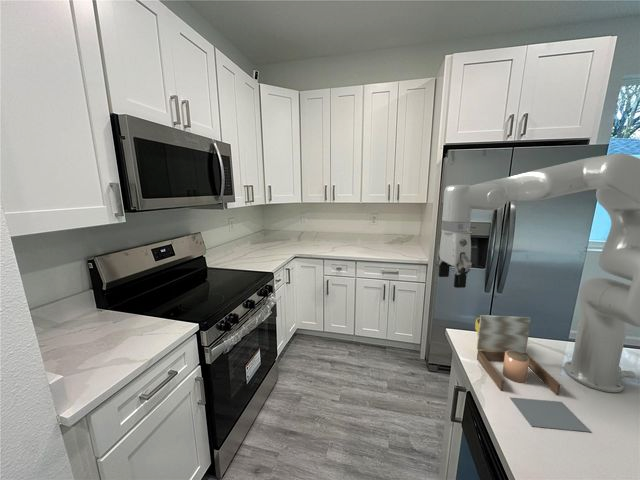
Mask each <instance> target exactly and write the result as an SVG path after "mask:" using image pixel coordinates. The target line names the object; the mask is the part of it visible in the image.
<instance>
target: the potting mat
mask: <svg viewBox="0 0 640 480" xmlns="http://www.w3.org/2000/svg"><path fill="white" fill-rule="evenodd" d="M509 399H510V400H511V401H512V403H513V404H514V405H515V408H517V410H518V411H519V413H521V414H522V416H523V417H524V419H525V420H526V421H527V423H528V424H529V425H530V426H531V427H533V428H542V429H553V430H561V431H571V432H572V431H573V432H574V431H575V432H583V433H584V432H585V433H592V431H591V430H590V429H589V427H588V426H587V425H585V424H584V423H583V422H582V421H581V419H579V418H578V417H577V415H576V414H574V412H572V411H571V409H570V408H569V407H568V406H566V405H565V404H564V402H563V401H558V400H557V401H556V400H545V399H533V398H524V397H523V398H521V397H520V398H519V397H511V396H510V397H509Z"/></svg>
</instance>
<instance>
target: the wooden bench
mask: <svg viewBox="0 0 640 480" xmlns="http://www.w3.org/2000/svg"><path fill="white" fill-rule="evenodd" d="M479 318H480V323H479V332H478V335H477V342H476V343H477V344H476V350H477V355H476V360H477V361H478V362H479V364H480V365H481V366H482V368H483V369H484V370H485V372H486V373H487V374H488V376H489V377H490V379H491V380H492V381H493V383H494V384H495V385H496V387H497V388H498V389H499V391H500V392H503V391H504V383H505V380H504V378H503V377H502V376H501V374H500V373H499V372H498V371H497V370H496V368H495V367H494V366H493V365H492V363H491V362H498V363H499V362H500V363H501V362H502V363H504V357H505V352H506V351H508V350H512V351H517V352H520V353H522V354H524V355H526V356H527V357H528V358H529V368H530V369H531V370H532V371H533V372H534V373H535V374H534V373H533V372H532V371H531V370H530V369H529V368H528V369H529V370H530V371H531V372H532V373H533V374H534V375H535V376H536V377H537V378H538V379H541V380H542V381H543V382H544V383H543V382H542V381H541V380H540V381H541V382H542V383H543V384H546V385H547V386H548V387H547V386H546V385H545V386H546V387H547V388H548V389H549V390H551V392H552V393H553V394H554V395H555V396H560V390H561V386H562V385H561V384H560V383H559V382H558V380H556V378H555V377H553V376H552V375H551V374H550V373H549V372H548V371H547V370H546V369H545V368H543V367H542V366H541V365H540V364H539V363H538V362H537V361H536V360H534V358H532V357H531V355H529V354H528V353H527V348H528V347H527V346H528V343H529V342H528V340H529V333H530V328H531V327H530V326H531V320H532V317H529V316H528V317H527V316H511V315H510V316H507V315H486V314H485V315H482V314H480V315H479ZM487 350H493V351H487Z"/></svg>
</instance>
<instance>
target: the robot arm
mask: <svg viewBox="0 0 640 480" xmlns="http://www.w3.org/2000/svg"><path fill="white" fill-rule="evenodd" d="M590 190H596V193H595V197H596V201H597V203H598V204H599V205H600V206H601V207H602V208H603V209H604V210H605V211H606V213H607V214H608V216H609V219H610V224H611V225H610V229H609V232H608V235H607V237H606V240H605V242H604V245H603V248H602V250H601V253H600V256H599V259H598V267H599V268H600V269H601V271H604V272H606V273H607V274H610V275H613V276H615V277H618V278H621V279H625V280H628V281H631V284H628V283H624V282H622V281H618V280H615V279H612V278H608V277H592V278H589V279H587V280H586V281H584V282H583V283H582V284H581V285H580V287H579V288H580V289H579V293H578V298H579V307H580V310H579V317H578V318H579V319H578V325H577V331H576V336H575V341H574V346H573V352H572V358H571V360H570V361H569V360H568V361H566V362H565V363H564V364H563V369H564V370H563V371H564V372H565V373H566V375H568V376H569V377H570V378H571V379H573V380H575V381H577V382H579V383H580V384H582V385H584V386H587V387H589V388H592V389H594V390H598V391H601V392H606V393H620V392H622V391H623V390H624V383H623V381H622V380H621V379H624V378H628V379H635V378H636V373H635V372H634V371H632V370H625V369H624V370H622V368H621V366H620V363H621V359H622V355H623V354H622V353H623V349H624V345H625V340H626V336H627V332H628V331H627V330H628V329H627V324H628V325H631V326H633V327H637V328H640V158H639V157H637V156H633V155H630V154H627V153H612V154H606V155H599V156H592V157H587V158H583V159H582V158H581V159H577V160H574V161H569V162H565V163H561V164H556V165H552V166H548V167H543V168H538V169H535V170H530V171H527V172H523V173H518V174H515V175H510V176H507V177H502V178H498V179H493V180H489V181H485V182H480V183H477V184H473V185H470V184H452V185H451V184H450V185H447V186H446V187H445V189H444V191H443V203H442V204H443V205H442V218H441V231H440V232H441V238H440V242H439V243H440V245H439V249H437V252H438V257H437V258H438V260H439V261H438V273H437V274H438V277H439V278H448V277H450V266H451V267H454V270H455V274H454V276H453V277H454V280H453V287H454V288H456V289H460V288H466V287H467V286H466V285H467V275H469V272H470V270H471V267H472V262H471V257H472V240H471V233H470V232H471V223H472V222H471V221H472V211H473V210H480V211H496V210H499V209H501V208H503V206H505V205H506V203H510V202H517V201H518V202H524V201H525V202H528V201H529V202H530V201H531V202H533V201H541V200H542V201H543V200H547V199H551V198H556V197H560V196H566V195H569V194H575V193H579V192H585V191H590Z"/></svg>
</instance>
